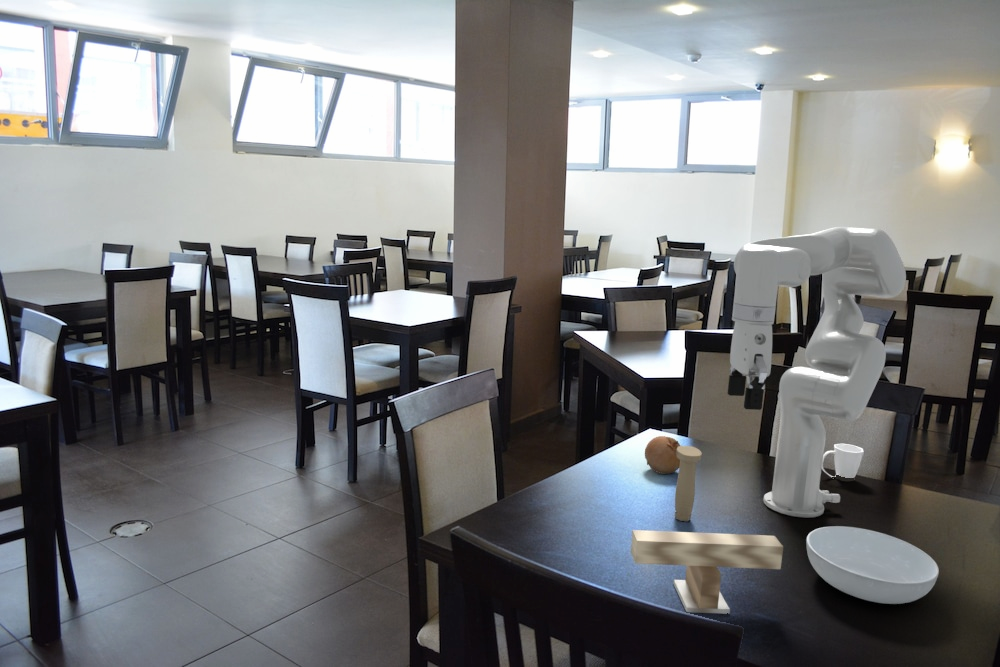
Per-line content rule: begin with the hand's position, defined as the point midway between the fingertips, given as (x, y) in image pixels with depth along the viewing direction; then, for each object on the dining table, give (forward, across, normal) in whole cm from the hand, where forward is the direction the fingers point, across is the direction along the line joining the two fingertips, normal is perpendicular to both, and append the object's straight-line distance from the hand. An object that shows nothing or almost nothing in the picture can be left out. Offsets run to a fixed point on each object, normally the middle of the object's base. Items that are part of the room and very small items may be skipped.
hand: (743, 401), depth 143 cm
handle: (+28, +9, +7) cm, 31 cm away
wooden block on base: (+28, -23, +12) cm, 38 cm away
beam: (+22, -23, +12) cm, 34 cm away
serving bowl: (+29, -17, -19) cm, 38 cm away
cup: (+28, +37, -39) cm, 61 cm away
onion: (+28, +37, +5) cm, 47 cm away
